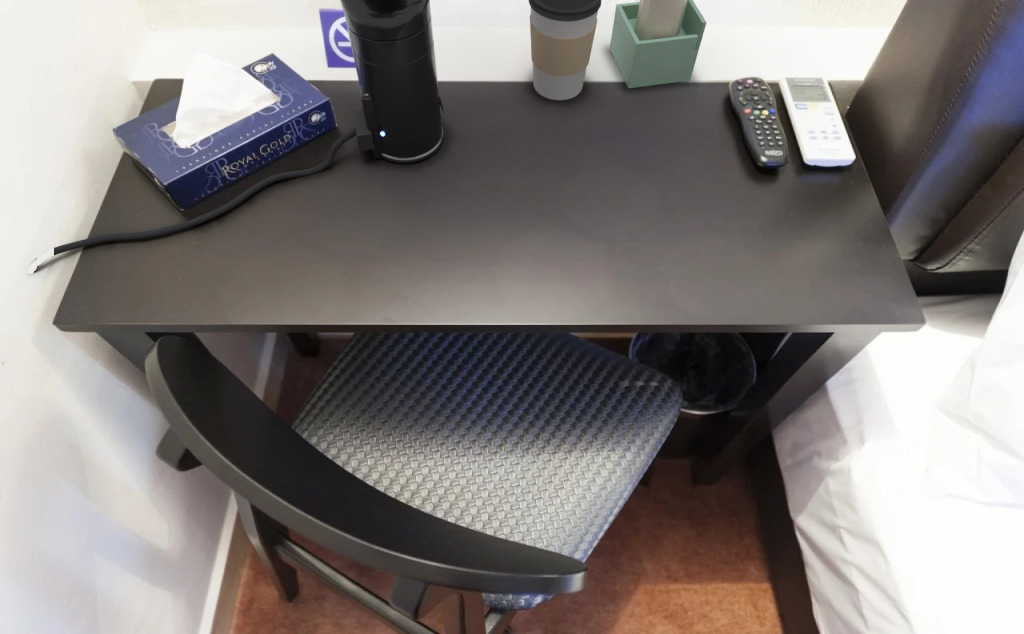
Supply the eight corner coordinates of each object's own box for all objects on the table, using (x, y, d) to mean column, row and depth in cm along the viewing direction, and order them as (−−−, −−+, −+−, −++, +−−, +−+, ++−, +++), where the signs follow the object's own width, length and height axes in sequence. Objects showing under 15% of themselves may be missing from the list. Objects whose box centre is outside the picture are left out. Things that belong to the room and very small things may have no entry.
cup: (642, 48, 90) (655, -16, 82) (628, 23, 93) (639, -42, 85) (684, 43, 90) (700, -21, 83) (669, 18, 94) (684, -46, 86)
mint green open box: (628, 88, 93) (639, 30, 85) (609, 49, 98) (618, -10, 90) (690, 80, 94) (706, 22, 86) (668, 41, 99) (682, -17, 91)
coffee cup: (585, 109, 90) (598, 6, 78) (520, 100, 91) (522, -4, 79) (594, 68, 95) (608, -36, 82) (532, 60, 96) (536, -44, 83)
